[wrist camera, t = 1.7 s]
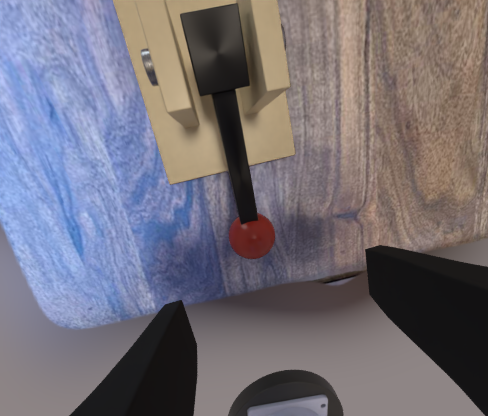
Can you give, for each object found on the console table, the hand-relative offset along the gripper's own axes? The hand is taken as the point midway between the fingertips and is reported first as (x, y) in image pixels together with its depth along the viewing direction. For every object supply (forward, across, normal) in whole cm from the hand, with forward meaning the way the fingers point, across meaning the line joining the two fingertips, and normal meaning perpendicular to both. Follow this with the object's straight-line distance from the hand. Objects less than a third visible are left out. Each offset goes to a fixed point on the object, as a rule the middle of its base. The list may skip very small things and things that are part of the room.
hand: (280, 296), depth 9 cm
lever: (+7, 0, -5) cm, 9 cm away
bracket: (+10, 0, -10) cm, 14 cm away
